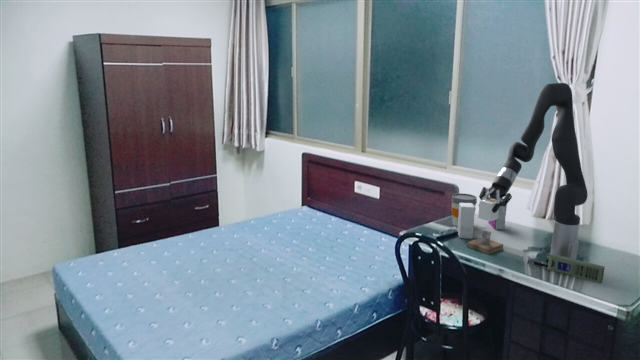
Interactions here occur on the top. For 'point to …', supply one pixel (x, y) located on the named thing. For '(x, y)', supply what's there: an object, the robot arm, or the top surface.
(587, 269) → the handheld radio
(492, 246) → the shaft base
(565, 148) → the robot arm
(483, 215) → the white box
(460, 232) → the skincare box
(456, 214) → the lidded canister
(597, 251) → the top surface
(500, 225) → the candy bar box
